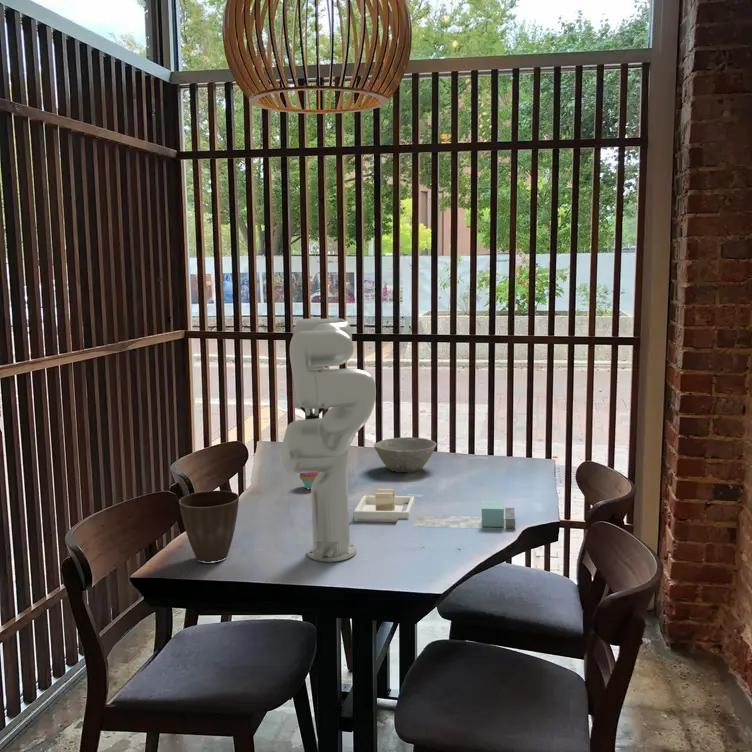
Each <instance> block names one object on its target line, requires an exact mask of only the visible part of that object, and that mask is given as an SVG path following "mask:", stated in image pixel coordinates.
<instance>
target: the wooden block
mask: <svg viewBox="0 0 752 752" xmlns="http://www.w3.org/2000/svg"><path fill="white" fill-rule="evenodd" d="M374 496H375V499H376V511H394V509H395V496H396V495H395V489H393V488H377V491H376V492H375V494H374Z"/></svg>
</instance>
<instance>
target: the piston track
mask: <svg viewBox="0 0 752 752" xmlns="http://www.w3.org/2000/svg"><path fill="white" fill-rule="evenodd" d="M504 508H505V509H504V527H490V526H482V516H468V515H467V516H464V515H462V516H461V515H419V514H417V515H416V516H415V520H414V522H413V524H412V528H414V527H415V528H416V527H417V528H446V529H447V528H453V529H454V528H455V529H489V530H490V529H491V530H492V529H494V530H496V529H497V530H499V529H500V530H515V529H516V517H515V516H516V513H515V507H504Z"/></svg>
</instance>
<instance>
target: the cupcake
mask: <svg viewBox="0 0 752 752" xmlns="http://www.w3.org/2000/svg"><path fill="white" fill-rule="evenodd" d="M318 474H319V472H307V473H299V479H300V480H301V481H302V483H303V486H304V488H309V489H311V487H312V484H313V481H314V480H315V478H316V477H317V475H318Z"/></svg>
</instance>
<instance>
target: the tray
mask: <svg viewBox="0 0 752 752" xmlns="http://www.w3.org/2000/svg"><path fill="white" fill-rule="evenodd" d="M394 496H395V509H394V511H376V499H375V495H363V496H362V497H361V499H360V501H359V503H358V504H357V506H356V507H355V509H354V511H353V516H354V518H353V520H354V522H366V523H367V522H368V523H371V522H372V523H376V522H377V523H397V522H398V520H399V519H407V520H408V519H410V517H411V514H412V511H413V508H414V506H415V503H416V501H415V496H413V495H412V496H411V495H408V496H407V495H405V496H404V495H403V496H402V495H394ZM405 504H407V506H406V509H405V510H403V508H404V506H405Z"/></svg>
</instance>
